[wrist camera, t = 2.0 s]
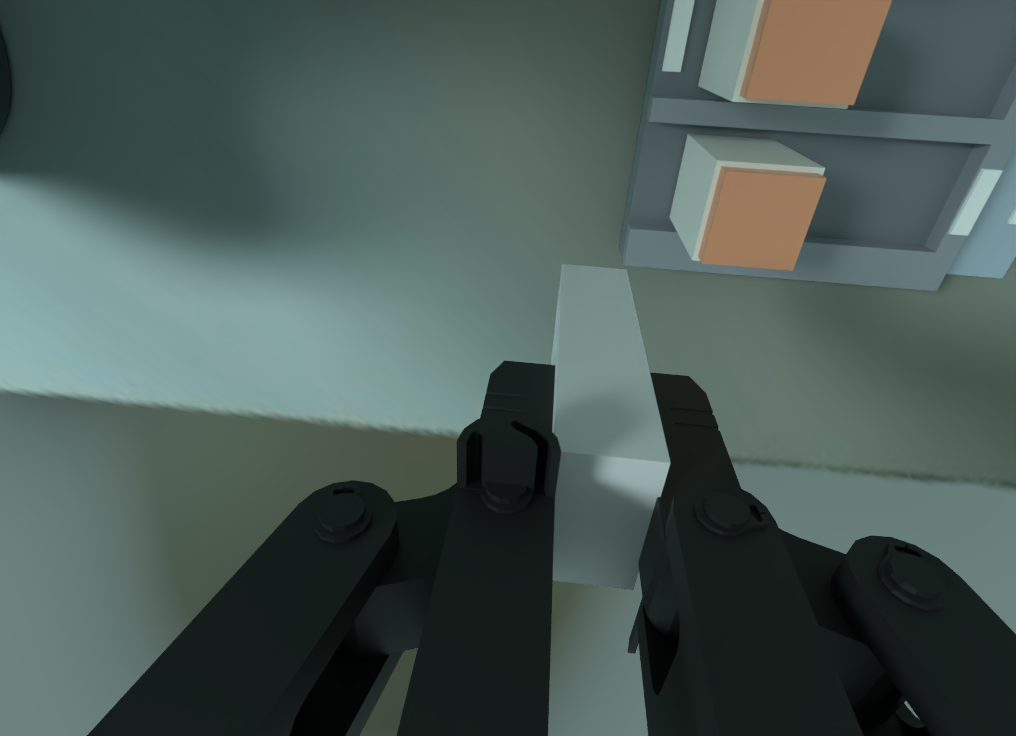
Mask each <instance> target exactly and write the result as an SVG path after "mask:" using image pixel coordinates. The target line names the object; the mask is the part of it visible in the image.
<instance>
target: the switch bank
mask: <svg viewBox="0 0 1016 736" xmlns="http://www.w3.org/2000/svg"><path fill="white" fill-rule="evenodd" d="M716 1H717V0H661V3H660V9H659V15H658V21H657V27H656V33H655V38H654V44H653V50H652V56H651V62H650V68H649V74H648V80H647V86H646V91H645V97H644V103H643V109H642V115H641V121H640V127H639V133H638V139H637V144H636V150H635V156H634V162H633V168H632V174H631V180H630V186H629V191H628V197H627V203H626V209H625V215H624V221H623V227H622V233H621V239H620V244H619V247H620V252H621V256H622V261H623V265H624V266H634V267H647V268H659V269H671V270H683V271H695V272H707V273H719V274H732V275H744V276H756V277H768V278H780V279H792V280H805V281H817V282H829V283H841V284H853V285H865V286H877V287H890V288H902V289H914V290H926V291H937V290H938V288H939V286H940V284H941V283H942V281H943V279H944V277H945V275H946V273H947V271H948V270H949V268H950V266H951V264H952V262H953V260H954V258H955V257H956V255H957V253H958V251H959V249H960V247H961V245H962V244H963V242H964V240H965V238H966V236H968V235H969V233H970V231H971V229H972V227H973V225H974V223H975V222H976V220H977V218H978V216H979V214H980V212H981V211H982V209H983V207H984V205H985V203H986V201H987V199H988V198H989V196H990V194H991V192H992V190H993V188H994V186H995V185H996V183H997V181H998V179H999V177H1000V175H1001V174H1002V172H1003V171H1002V169H1003V168H1004V166H1005V164H1006V162H1007V160H1008V158H1009V157H1010V155H1011V153H1012V151H1013V149H1014V147H1015V145H1016V0H892V2H891V5H890V8H889V10H888V13H887V16H886V19H885V21H884V24H883V27H882V29H881V32H880V35H879V38H878V40H877V43H876V46H875V49H874V51H873V54H872V57H871V59H870V62H869V65H868V68H867V70H866V73H865V76H864V78H863V81H862V84H861V87H860V89H859V92H858V95H857V98H856V100H855V103H854V105H848V108H847V109H839V108H823V107H807V106H792V105H776V104H760V103H745V102H732V101H729V100H727V99H725V98H723V97H721V96H719V95H716V94H714V93H712V92H710V91H708V90H705V89H703V88H701V87H699V86H698V84H699V79H700V75H701V70H702V65H703V61H704V56H705V52H706V47H707V42H708V38H709V33H710V29H711V24H712V19H713V15H714V10H715V6H716ZM687 134H700V135H715V136H730V137H745V138H759V139H774V140H776V141H778V142H779V143H781V144H783V145H785V146H787V147H788V148H790V149H792V150H794V151H796V152H797V153H799V154H801V155H803V156H805V157H807V158H808V159H810V160H812V161H814V162H816V163H817V164H819V165H821V166H823V167H825V171H824V174H823V176H824V177H826V178H827V179H826V182H825V185H824V187H823V190H822V193H821V195H820V198H819V201H818V204H817V206H816V209H815V212H814V215H813V217H812V220H811V223H810V225H809V228H808V231H807V234H806V236H805V239H804V242H803V244H802V247H801V250H800V253H799V255H798V258H797V261H796V264H795V266H794V269H793V271H789V270H777V269H765V268H752V267H740V266H728V265H716V264H703V263H701V261H694V260H691V258H690V256H689V254H688V252H687V250H686V248H685V246H684V244H683V242H682V240H681V238H680V237H679V235H678V233H677V231H676V229H675V227H674V225H673V223H672V221H671V219H670V213H671V208H672V203H673V199H674V194H675V190H676V185H677V180H678V176H679V171H680V167H681V162H682V157H683V153H684V148H685V144H686V139H687Z"/></svg>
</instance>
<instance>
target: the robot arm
mask: <svg viewBox="0 0 1016 736" xmlns="http://www.w3.org/2000/svg"><path fill="white" fill-rule="evenodd" d="M10 92H11V86H10V73H9V65H8V60H7V55H6V51H5V47H4V43H3V40H2V37H1V34H0V132H1V131H2V129H3V126H4V124H5V122H6V119H7V115H8V111H9V105H10ZM712 412H713V411H712V408H711V406H710V403H709V400H708V398H707V395H706V393H705V392H704V391H703V390H702V389H701V388H700V387H699V386H698V385H697V384H696V383H695V382H694V381H693V380H692V379H691V378H690V377H689V376H681V375H670V374H660V373H650V371H649V366H648V362H647V357H646V353H645V349H644V344H643V340H642V335H641V331H640V327H639V322H638V318H637V314H636V309H635V305H634V300H633V296H632V292H631V287H630V283H629V278H628V274H627V270H626V269H616V268H604V267H592V266H580V265H568V264H562V267H561V276H560V285H559V294H558V303H557V313H556V322H555V331H554V340H553V349H552V358H551V365H546V364H535V363H525V362H514V361H504V362H503V363H502V364H501V365H500V366H498V367H497V368H496V369H495V370H494V371H493V372H492V373H491V375H490V379H489V383H488V387H487V393H486V396H485V400H484V405H483V409H482V413H481V417H480V419H477V420H476V421H474V422H473V423H472V424H470V425H469V426H467V427H466V428H464V430H463V431H462V433H461V435H460V437H459V438H458V440H457V483H456V484H454V485H453V486H452V487H450V488H449V489H447V490H445V491H442V492H440V493H438V494H436V495H432V496H428V497H424V498H419V499H413V500H406V501H399V502H394V501H393V499H392V498H391V496H390V495H389V494H388V492H387V491H386V490H384V489H382V488H380V487H378V486H376V485H374V484H373V483H368V482H361V481H354V480H353V481H347V482H339V483H333V484H331V485H328V486H326V487H324V488H321V489H319V490H316V491H315V492H313V493H312V494H311V495H309V496H308V497H307V498H306V499H304V500H303V501H302V502H301V503H299V504H298V506H297V507H296V508H295V509H294V510H293V511H292V512H291V513H290V514H289V515H288V516H287V518H286V519H285V520H284V521H283V522H282V523H281V524H280V525H279V526H278V527H277V529H276V530H275V531H274V532H273V533H272V534H271V535H270V536H269V537H268V538H267V539H266V541H265V542H264V543H263V544H262V545H261V546H260V547H259V548H258V549H257V550H256V551H255V553H254V554H253V555H252V556H251V557H250V558H249V559H248V560H247V561H246V563H245V564H244V565H243V566H242V567H241V568H240V569H239V570H238V571H237V572H236V573H235V575H233V577H232V578H231V579H230V580H229V581H228V582H227V583H226V584H225V586H224V587H223V588H222V589H221V590H220V591H219V592H218V593H217V594H216V595H215V596H214V597H213V598H212V600H211V601H210V602H209V603H208V604H207V605H206V606H205V607H204V608H203V609H202V611H201V612H200V613H199V614H198V615H197V616H196V617H195V618H194V619H193V620H192V621H191V623H190V624H189V625H188V626H187V627H186V628H185V629H184V630H183V631H182V632H181V634H180V635H179V636H178V637H177V638H176V639H175V640H174V641H173V642H172V643H171V645H170V646H169V647H168V648H167V649H166V650H165V651H164V652H163V653H162V654H161V655H160V656H159V658H158V659H157V660H156V661H155V662H154V663H153V664H152V665H151V666H150V668H149V669H148V670H147V671H146V672H145V673H144V674H143V675H142V676H141V677H140V679H139V680H138V681H137V682H136V683H135V684H134V685H133V686H132V687H131V688H130V689H129V691H127V693H126V694H125V695H124V696H123V697H122V698H121V699H120V700H119V701H118V702H117V704H116V705H115V706H114V707H113V708H112V709H111V710H110V711H109V712H108V713H107V714H106V716H105V717H104V718H103V719H102V720H101V721H100V722H99V723H98V724H97V725H96V726H95V728H94V729H93V730H92V731H91V732H90V733H89V734H88V735H87V736H359V735H360V733H361V732H362V729H363V728H364V726H365V724H366V722H367V720H368V718H369V716H370V714H371V712H372V711H373V709H374V707H375V705H376V703H377V701H378V699H379V697H380V695H381V693H382V692H383V689H384V688H385V686H386V684H387V682H388V680H389V678H390V676H391V674H392V672H393V671H394V668H395V667H396V665H397V663H398V661H399V659H400V657H401V655H402V653H403V651H405V650H409V649H414V648H418V651H417V655H416V659H415V663H414V667H413V671H412V675H411V680H410V683H409V688H408V691H407V696H406V700H405V704H404V708H403V712H402V716H401V720H400V724H399V728H398V732H397V736H548V714H549V680H550V646H551V613H552V581H553V580H555V581H563V582H572V583H579V584H588V585H596V586H605V587H613V588H621V589H631V590H633V589H634V586H635V582H636V579H637V575H638V572H639V571H640V580H641V588H642V596H643V597H642V600H641V603H640V607H639V610H638V613H637V616H636V619H635V622H634V625H633V629H632V632H631V635H630V638H629V647H628V653H635V652H636V649H637V646H638V643H639V651H640V660H641V670H642V679H643V688H644V698H645V707H646V717H647V726H648V736H1016V634H1015V633H1014V632H1013V631H1012V630H1011V629H1010V628H1009V627H1008V626H1007V625H1006V624H1005V623H1004V622H1003V621H1002V620H1001V619H1000V617H999V616H998V615H997V614H996V613H995V612H994V611H993V610H992V609H991V608H990V607H989V606H988V605H987V604H986V603H985V602H984V601H983V600H982V599H981V598H980V597H979V596H978V595H977V594H976V593H975V592H974V591H973V590H972V589H971V587H970V586H969V585H968V584H967V583H966V582H965V581H964V580H963V579H962V578H961V577H960V576H959V575H958V574H956V573H955V572H954V571H953V570H952V569H950V568H949V567H948V566H947V565H946V564H945V563H943V562H942V561H941V560H940V559H939V558H937V557H935V556H933V555H931V554H930V553H928V552H926V551H924V550H922V549H921V548H919V547H917V546H916V545H913V544H910V543H907V542H904V541H901V540H898V539H895V538H892V537H882V536H868V537H865V538H862V539H859V540H856V541H855V542H854V544H853V545H852V547H851V548H850V550H849V551H848V552H847V554H843V553H841V552H838V551H835V550H832V549H829V548H827V547H824V546H821V545H818V544H815V543H812V542H809V541H807V540H804V539H801V538H799V537H796V536H794V535H792V534H789V533H787V532H785V531H783V530H781V529H779V528H778V526H777V523H776V521H775V520H774V518H773V517H772V515H771V514H770V512H769V510H768V509H767V507H766V506H764V504H762V503H761V502H760V501H759V500H758V499H756V498H755V497H754V496H753V495H752V494H750V493H748V492H746V491H744V490H742V489H741V487H740V484H739V482H738V479H737V476H736V474H735V471H734V468H733V465H732V463H731V460H730V457H729V455H728V452H727V449H726V446H725V444H724V441H723V438H722V436H721V433H720V431H718V425H717V422H716V419H715V417H714V415H712ZM905 701H907V702H908V703H909V705H910V706H911V708H912V709H913V711H914V712H915V713H916V715H917V716H918V718H919V719H920V720H919V719H918V718H916V717H915V716H914V715H913V713H912V712H911V711H910V710H909V709H908V708H907V707H906V705H905V704H904V702H905Z"/></svg>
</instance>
